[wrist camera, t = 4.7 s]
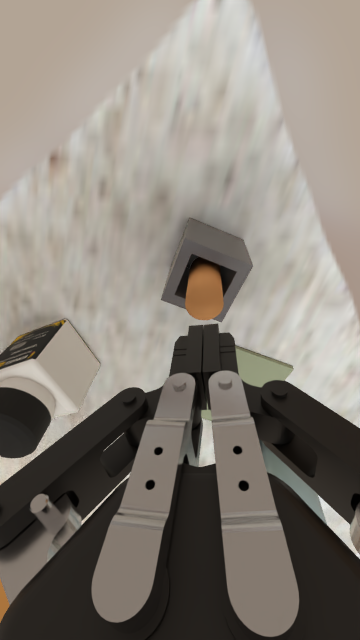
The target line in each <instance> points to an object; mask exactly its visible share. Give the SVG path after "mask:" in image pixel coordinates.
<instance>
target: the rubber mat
mask: <svg viewBox="0 0 360 640" xmlns="http://www.w3.org/2000/svg"><path fill="white" fill-rule="evenodd" d="M235 349H236V357H237V365H238V373H239V376H240V378H241V379H242V380H243V381H244V382H246V383H248V384H250V385H253V386H257V387H262V386H263V385H264V384H265V383H267V382H269V381H272V380H282V381H284V380H285V379H286V378H287V377H288V375H289V374H290V373H291V372H292V371H293V366H290V365H288V364H285V363H282V362H279V361H277V360H274V359H271V358H268V357H266V356H263V355H260V354H257V353H255V352H252V351H249V350H246V349H244V348H241V347H238V346H235ZM201 417H202V418H203V419H207V420H210V421H212V415H211V410H208V404H207V410H202V413H201Z"/></svg>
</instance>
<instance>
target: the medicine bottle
mask: <svg viewBox="0 0 360 640" xmlns="http://www.w3.org/2000/svg"><path fill="white" fill-rule="evenodd" d="M99 368H100V363H99V362H98V360H97V359H96V358H95V356H94V355H93V354H92V352H91V351H90V350H89V348H88V347H87V346H86V344H85V343H84V341H83V340H82V339H81V337H80V336H79V335H78V333H77V332H76V331H75V329H74V328H73V327H72V325H71V324H70V323H69V321H68V320H66V319H64V320H61V321H59V322H56V323H53V324H51V325H48V326H45V327H43V328H40V329H37V330H35V331H32V332H29V333H27V334H24V335H21V336H19V337H17V338H16V339H15V340H14V341H13V342H12V344H11V345H10V346H9V347H8V348H7V349H6V350H5V351H4V352H3V353H2V354H1V355H0V457H5V458H21V457H24V456H26V455H29V454H31V453H32V452H34V451H35V449H36V448H37V446H38V444H39V442H40V440H41V439H42V437H43V435H44V433H45V432H46V430H47V428H48V426H49V424H50V423H51V421H52V419H53V418H56V417H60V416H64V415H68V414H72V413H76V412H78V411H79V409H80V407H81V405H82V403H83V401H84V399H85V397H86V395H87V392H88V390H89V388H90V386H91V384H92V382H93V380H94V378H95V376H96V374H97V372H98V370H99Z"/></svg>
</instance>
